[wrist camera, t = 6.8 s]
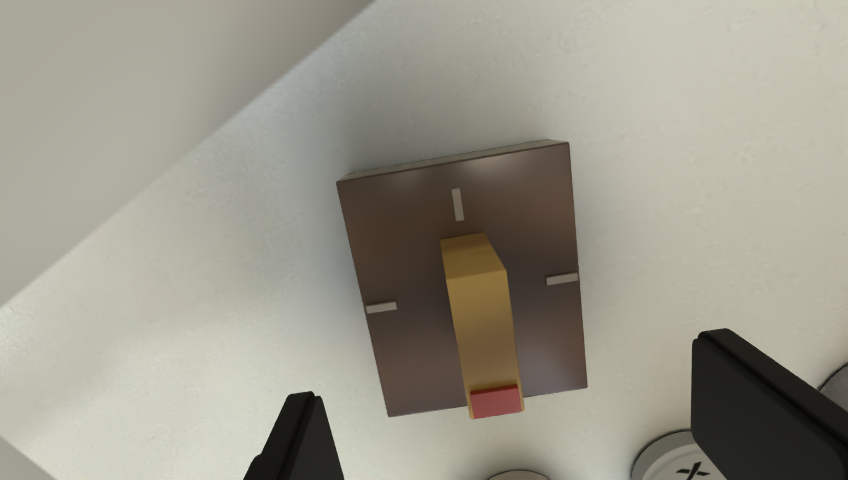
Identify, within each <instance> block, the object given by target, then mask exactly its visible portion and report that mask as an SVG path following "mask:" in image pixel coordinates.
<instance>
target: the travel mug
mask: <svg viewBox="0 0 848 480" xmlns="http://www.w3.org/2000/svg"><path fill="white" fill-rule="evenodd" d="M631 480H727V479H726V478H725V477H724V476H723V475H722V474H721V472H720V471H719V470H718V469H717V468H716V466H715V465H714V464H713V463H712V462H711V460H710V459H709V458H708V457H707V456H706V454H705V453H704V452H703V451H702V450H701V449H700V447H699V446H698V445H697V443H696V442H695V440H694V438H693V436H692V432H691V431H685V432H679V433H674V434H671V435H668V436H665V437H663V438H661V439H659V440H657V441H656V442H654V443H653V444H651V445H650V446H649V447H647V449H646V450H645V451H644V452H643V453H642V454H641V455H640V457H639V458H638V460H637V461H636V463H635V466H634V468H633V472H632V478H631Z"/></svg>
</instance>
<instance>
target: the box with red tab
mask: <svg viewBox="0 0 848 480" xmlns="http://www.w3.org/2000/svg"><path fill="white" fill-rule="evenodd" d="M440 246H441V252H442V258H443V264H444V271H445V277H446V283H447V289H448V295H449V300H450V306H451V312H452V318H453V324H454V329H455V335H456V341H457V347H458V352H459V358H460V364H461V370H462V376H463V381H464V387H465V393H466V399H467V404H468V410H469V416H470V419H478V418H484V417H491V416H497V415H504V414H510V413H517V412H522V411H524V409H525V408H524V401H523V393H522V386H521V378H520V371H519V363H518V355H517V348H516V340H515V333H514V325H513V318H512V310H511V302H510V295H509V287H508V280H507V272H506V269H505V267H504V266H503V264H502V262H501V261H500V259H499V257H498V255H497V254H496V252H495V250H494V248H493V247H492V245H491V243H490V242H489V240H488V238H487V236H486V235H485V233H484V232H482V233H476V234H470V235H465V236H459V237H453V238H447V239H441V240H440Z"/></svg>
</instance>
